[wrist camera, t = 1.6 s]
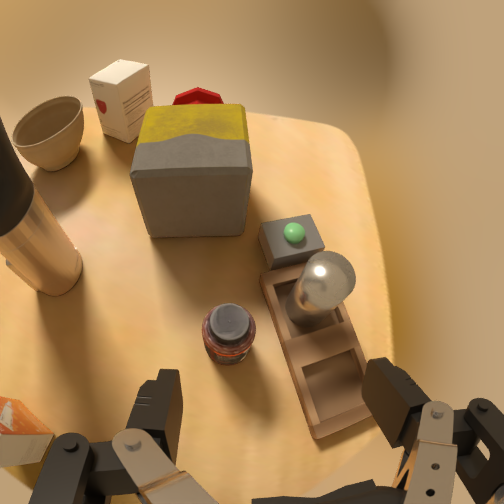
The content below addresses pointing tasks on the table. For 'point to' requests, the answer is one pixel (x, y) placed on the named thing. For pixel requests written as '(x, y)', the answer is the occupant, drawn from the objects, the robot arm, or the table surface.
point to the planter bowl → (51, 133)
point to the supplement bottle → (228, 333)
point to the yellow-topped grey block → (193, 167)
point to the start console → (289, 241)
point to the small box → (21, 434)
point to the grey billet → (320, 288)
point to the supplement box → (122, 98)
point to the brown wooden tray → (319, 358)
